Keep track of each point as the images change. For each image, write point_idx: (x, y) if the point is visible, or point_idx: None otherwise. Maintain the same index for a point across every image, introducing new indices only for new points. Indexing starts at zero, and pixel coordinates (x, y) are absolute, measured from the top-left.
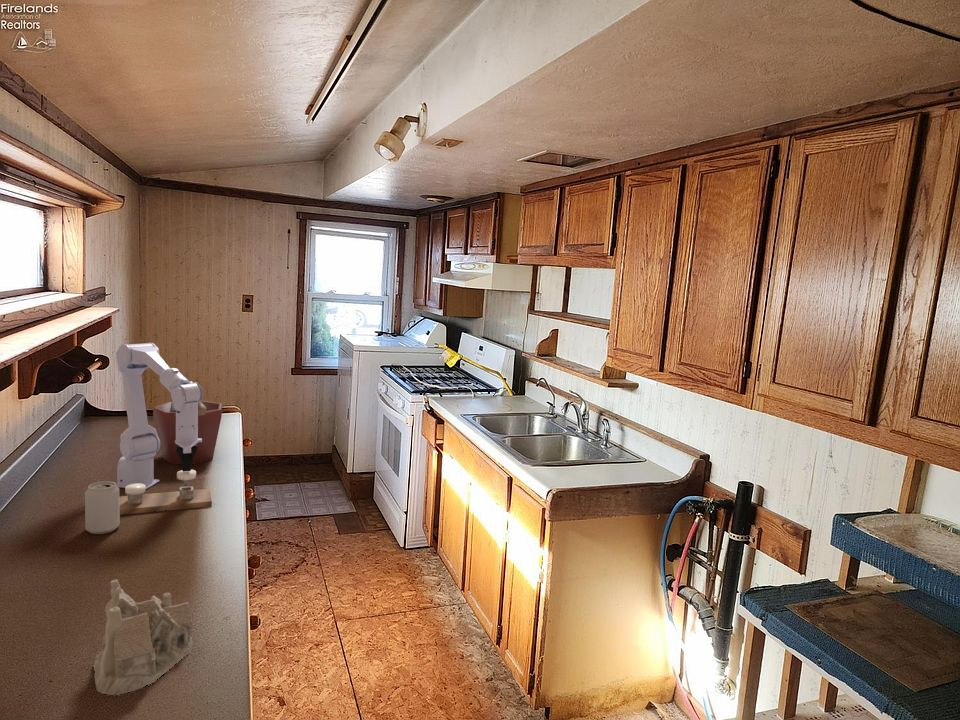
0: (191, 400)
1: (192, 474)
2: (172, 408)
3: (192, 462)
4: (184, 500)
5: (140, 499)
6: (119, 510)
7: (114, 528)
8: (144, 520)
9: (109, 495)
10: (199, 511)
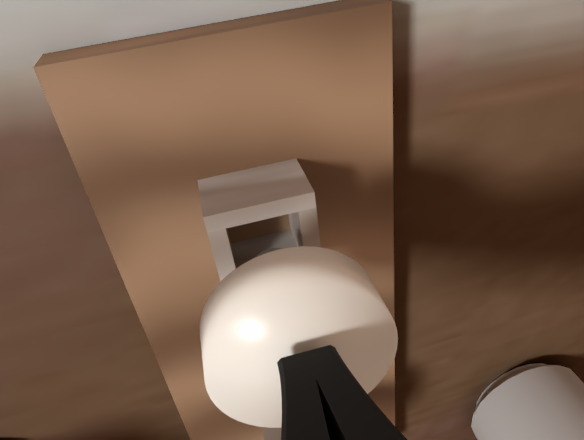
0: None
1: (375, 295)
2: None
3: (392, 424)
4: (328, 206)
5: None
6: (567, 422)
7: (566, 368)
8: (482, 306)
9: None
10: (452, 71)
